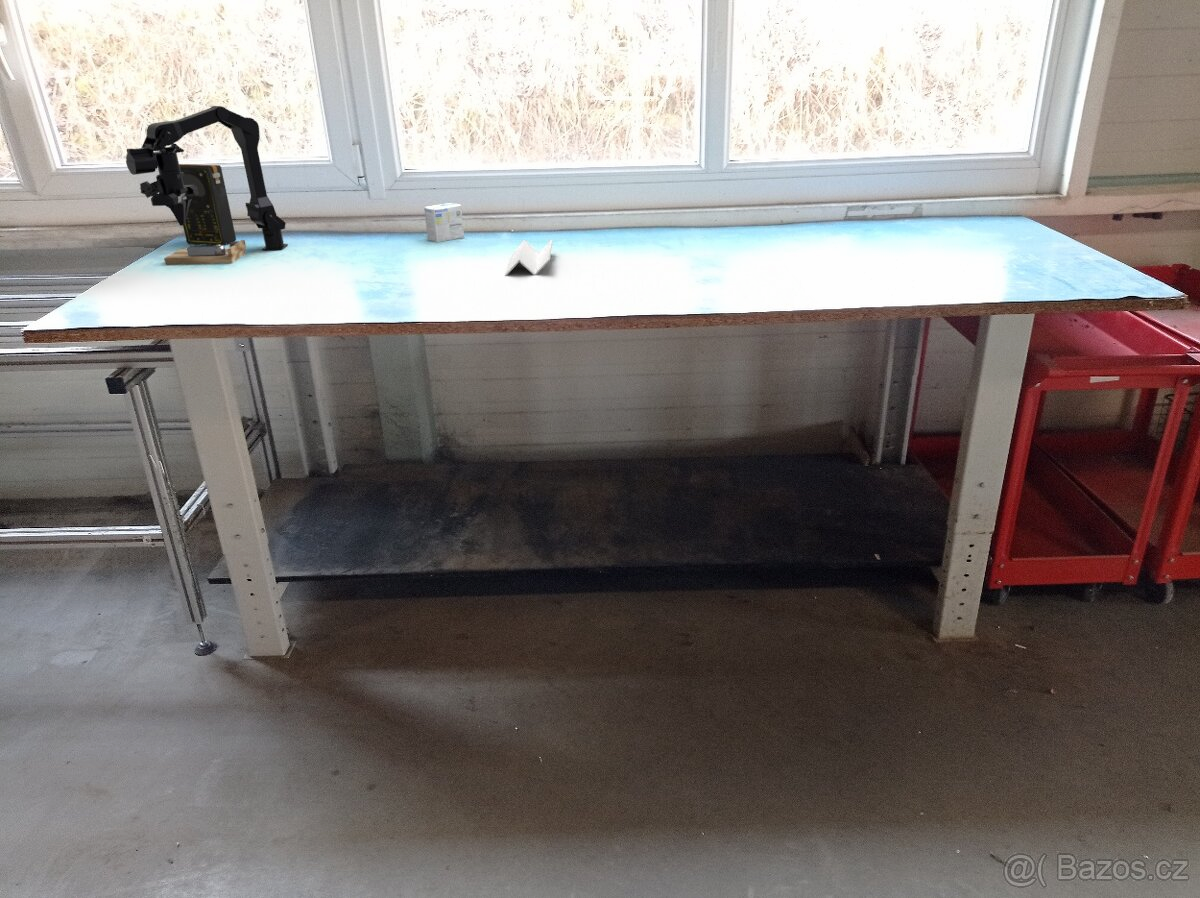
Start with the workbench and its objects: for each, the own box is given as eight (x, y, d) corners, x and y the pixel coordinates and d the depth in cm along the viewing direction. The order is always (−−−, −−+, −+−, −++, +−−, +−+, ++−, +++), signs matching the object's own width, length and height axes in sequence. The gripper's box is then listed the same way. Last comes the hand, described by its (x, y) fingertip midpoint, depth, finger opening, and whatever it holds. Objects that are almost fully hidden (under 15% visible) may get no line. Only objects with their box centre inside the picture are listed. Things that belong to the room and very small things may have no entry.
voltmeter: (183, 244, 282) (165, 166, 271) (201, 239, 289) (184, 162, 278) (223, 247, 278) (206, 167, 266) (240, 241, 285) (224, 163, 274)
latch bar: (227, 252, 260) (225, 243, 259) (223, 255, 257) (221, 245, 256) (192, 253, 260) (189, 244, 259) (187, 256, 257) (185, 246, 256)
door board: (182, 255, 268) (179, 241, 266) (247, 253, 269) (245, 239, 267) (165, 264, 257) (162, 250, 255) (233, 263, 258) (230, 249, 256)
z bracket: (521, 290, 241) (504, 275, 239) (526, 268, 263) (511, 254, 261) (549, 260, 237) (533, 244, 235) (552, 239, 259) (537, 225, 257)
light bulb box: (454, 234, 288) (451, 201, 283) (465, 237, 283) (462, 204, 278) (426, 239, 282) (423, 206, 277) (436, 242, 277) (433, 209, 272)
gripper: (155, 166, 252) (168, 219, 259) (125, 175, 235) (140, 232, 242) (193, 165, 252) (205, 218, 259) (166, 175, 235) (179, 231, 242)
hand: (182, 225), depth 251 cm, fingers closed
